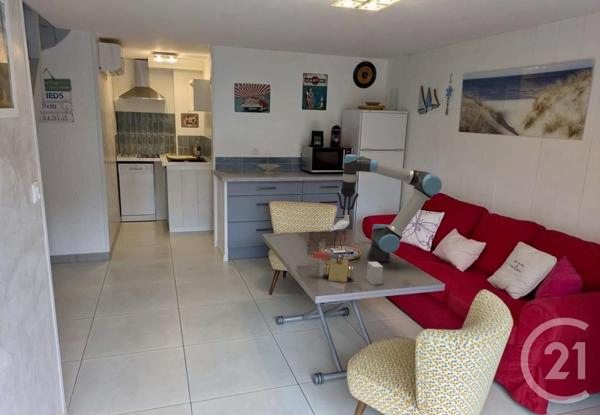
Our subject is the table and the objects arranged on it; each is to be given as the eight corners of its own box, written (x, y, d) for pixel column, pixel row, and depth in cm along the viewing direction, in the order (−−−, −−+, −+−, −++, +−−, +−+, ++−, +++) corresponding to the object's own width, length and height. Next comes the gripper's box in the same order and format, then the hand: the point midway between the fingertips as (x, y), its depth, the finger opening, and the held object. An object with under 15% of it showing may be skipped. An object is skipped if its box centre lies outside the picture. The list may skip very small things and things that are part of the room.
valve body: (350, 276, 236) (351, 257, 234) (350, 282, 227) (352, 263, 225) (325, 274, 237) (327, 255, 235) (324, 280, 228) (326, 260, 226)
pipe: (351, 276, 235) (353, 263, 233) (352, 281, 228) (353, 268, 226) (323, 273, 236) (324, 260, 235) (323, 278, 229) (324, 265, 227)
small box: (381, 284, 228) (383, 266, 225) (372, 285, 226) (374, 266, 224) (374, 278, 235) (376, 261, 233) (365, 279, 233) (367, 261, 231)
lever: (343, 258, 232) (343, 253, 231) (343, 260, 227) (343, 256, 227) (313, 255, 233) (313, 251, 233) (313, 258, 229) (313, 253, 228)
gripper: (359, 181, 245) (356, 219, 250) (337, 179, 246) (334, 217, 251) (360, 183, 238) (356, 222, 243) (337, 181, 239) (334, 220, 244)
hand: (345, 220), depth 247 cm, fingers closed
